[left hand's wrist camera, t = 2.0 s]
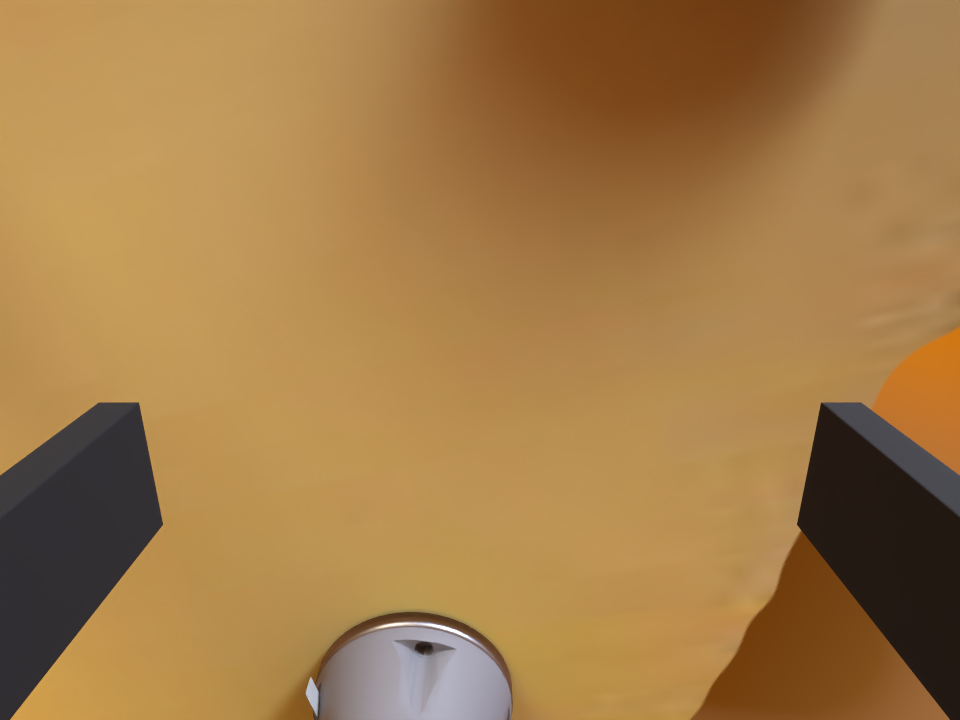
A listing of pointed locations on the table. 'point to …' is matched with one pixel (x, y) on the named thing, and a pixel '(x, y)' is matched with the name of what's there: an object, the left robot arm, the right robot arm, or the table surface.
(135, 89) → the table surface
